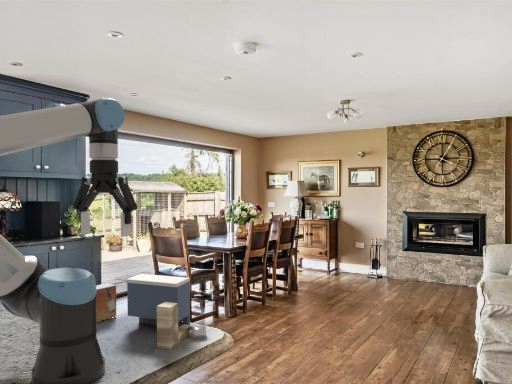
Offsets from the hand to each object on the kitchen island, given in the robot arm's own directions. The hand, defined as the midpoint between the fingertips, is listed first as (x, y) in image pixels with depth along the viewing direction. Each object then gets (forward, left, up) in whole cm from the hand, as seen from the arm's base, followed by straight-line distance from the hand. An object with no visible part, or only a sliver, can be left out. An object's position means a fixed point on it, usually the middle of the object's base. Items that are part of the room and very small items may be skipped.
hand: (105, 235), depth 116 cm
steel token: (+9, -24, -29) cm, 39 cm away
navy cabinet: (+10, -11, -29) cm, 32 cm away
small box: (+12, +12, -29) cm, 34 cm away
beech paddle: (+4, -20, -29) cm, 35 cm away
